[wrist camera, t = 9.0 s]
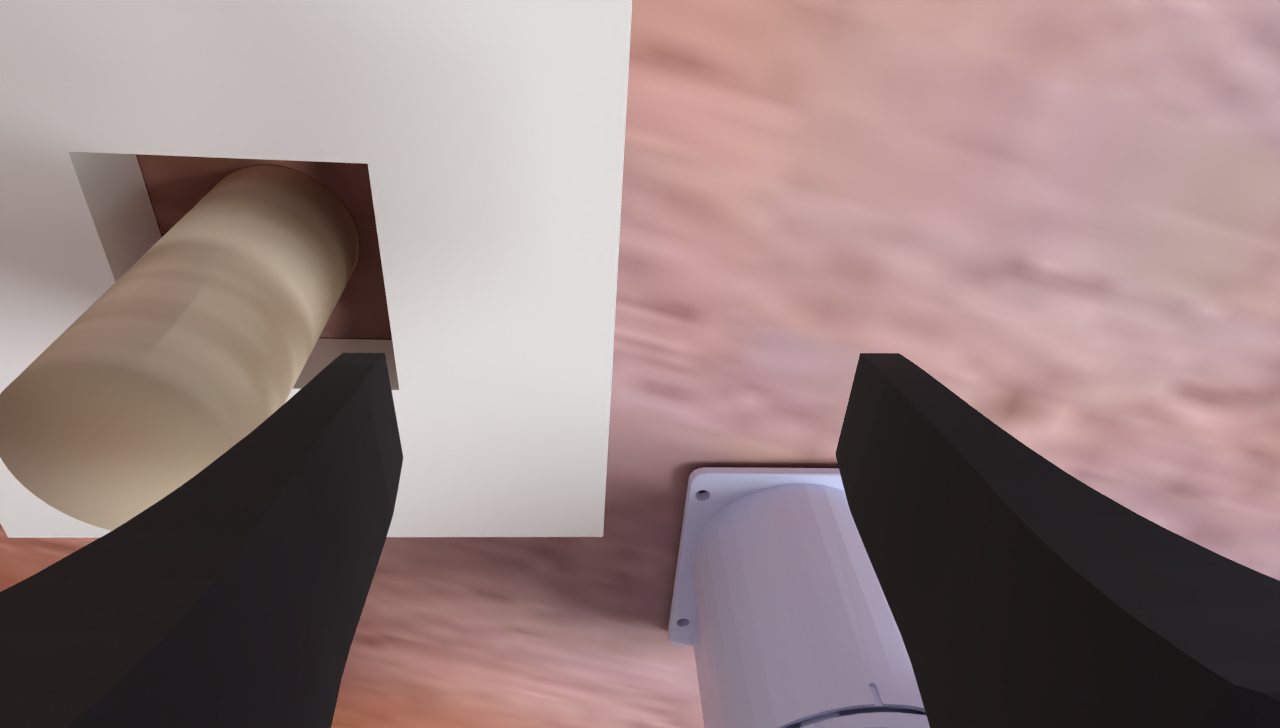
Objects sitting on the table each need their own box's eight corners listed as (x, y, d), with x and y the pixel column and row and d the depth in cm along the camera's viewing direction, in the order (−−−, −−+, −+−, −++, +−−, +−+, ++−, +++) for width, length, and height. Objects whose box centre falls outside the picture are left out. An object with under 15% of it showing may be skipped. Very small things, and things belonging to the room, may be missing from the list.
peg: (368, 301, 22) (261, 535, 15) (224, 297, 22) (42, 535, 15) (347, 168, 20) (210, 366, 13) (187, 161, 20) (-52, 361, 12)
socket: (601, 483, 27) (603, 536, 25) (55, 480, 25) (8, 537, 23) (631, -126, 17) (638, -119, 15) (-280, -193, 15) (-417, -198, 13)
